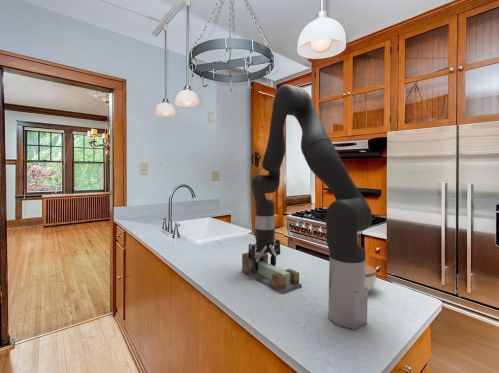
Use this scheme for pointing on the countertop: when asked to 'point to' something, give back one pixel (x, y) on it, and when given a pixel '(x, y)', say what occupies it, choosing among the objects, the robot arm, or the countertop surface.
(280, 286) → the holder
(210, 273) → the countertop surface
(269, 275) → the slat
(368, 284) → the lidded jar
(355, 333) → the countertop surface
